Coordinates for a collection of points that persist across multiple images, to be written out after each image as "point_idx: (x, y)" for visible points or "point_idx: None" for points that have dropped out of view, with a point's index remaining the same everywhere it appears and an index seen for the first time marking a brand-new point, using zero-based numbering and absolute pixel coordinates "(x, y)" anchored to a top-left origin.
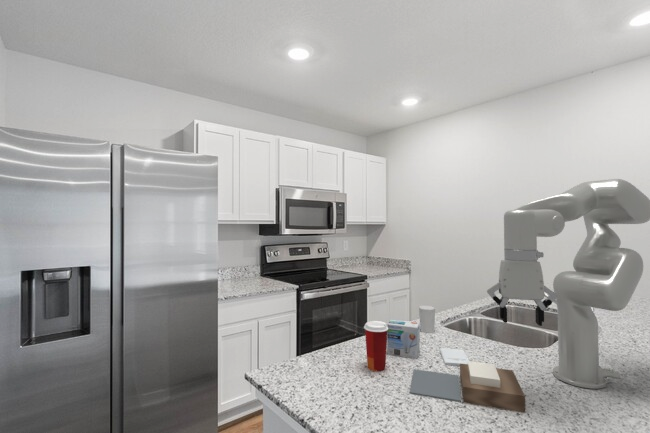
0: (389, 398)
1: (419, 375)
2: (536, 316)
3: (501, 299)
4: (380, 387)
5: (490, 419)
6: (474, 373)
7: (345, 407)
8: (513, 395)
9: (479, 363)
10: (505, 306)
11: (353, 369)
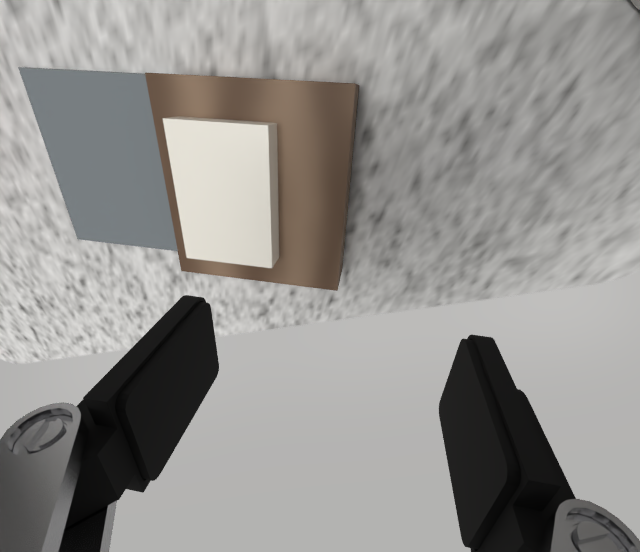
0: (54, 267)
1: (57, 122)
2: (467, 413)
3: (2, 513)
4: (10, 221)
5: (259, 307)
6: (196, 238)
7: (8, 312)
8: (308, 285)
9: (209, 135)
10: (127, 484)
11: None
